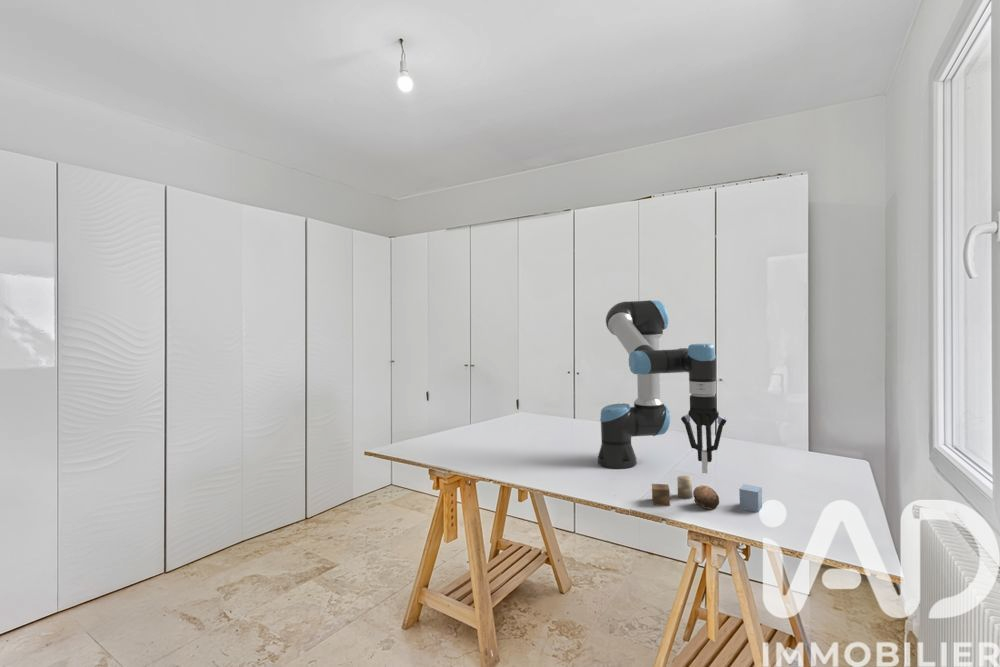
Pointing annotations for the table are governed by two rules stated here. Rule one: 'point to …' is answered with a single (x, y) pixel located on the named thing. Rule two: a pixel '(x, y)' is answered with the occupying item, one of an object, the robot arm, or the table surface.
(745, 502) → the slate block
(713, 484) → the table surface
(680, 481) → the birch cylinder
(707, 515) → the table surface
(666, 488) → the walnut block
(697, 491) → the mushroom
